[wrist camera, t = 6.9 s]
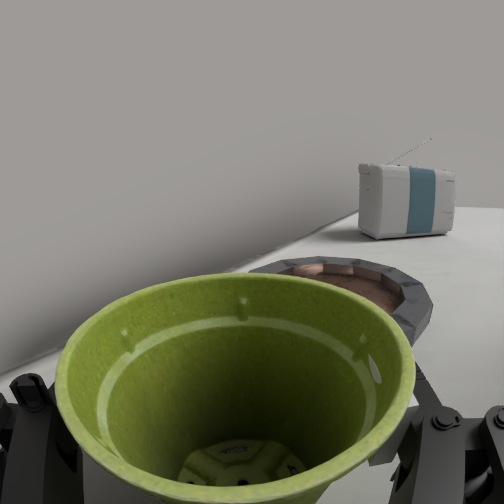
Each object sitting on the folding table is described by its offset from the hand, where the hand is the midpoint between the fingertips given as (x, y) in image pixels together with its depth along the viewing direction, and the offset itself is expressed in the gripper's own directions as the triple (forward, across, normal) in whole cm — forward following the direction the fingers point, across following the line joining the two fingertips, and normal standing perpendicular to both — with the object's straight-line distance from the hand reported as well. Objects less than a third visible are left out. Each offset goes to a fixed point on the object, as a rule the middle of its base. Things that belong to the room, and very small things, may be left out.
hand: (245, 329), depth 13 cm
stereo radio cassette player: (+43, +28, -6) cm, 52 cm away
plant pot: (-5, 0, -6) cm, 8 cm away
